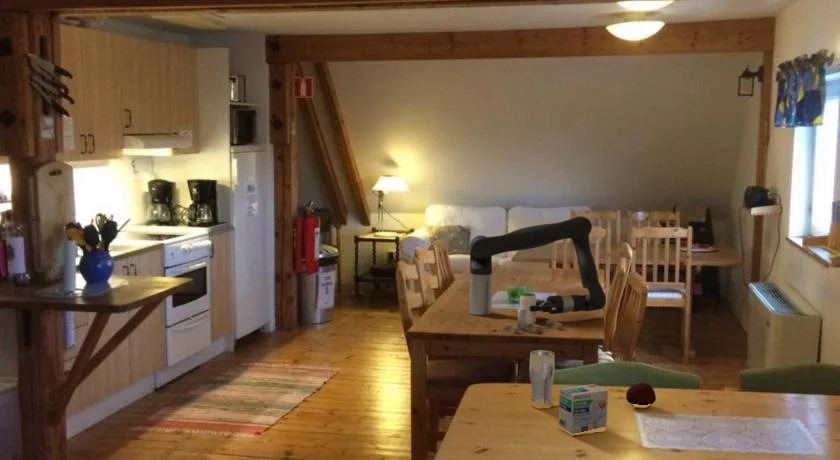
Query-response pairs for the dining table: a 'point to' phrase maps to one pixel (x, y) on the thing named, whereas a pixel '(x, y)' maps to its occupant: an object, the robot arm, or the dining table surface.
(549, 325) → the rail
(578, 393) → the light bulb box
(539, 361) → the beer glass
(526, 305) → the can
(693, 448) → the dining table surface
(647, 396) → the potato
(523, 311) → the grey peg
